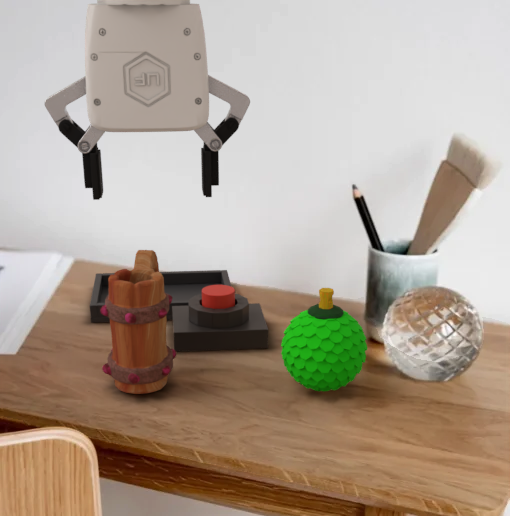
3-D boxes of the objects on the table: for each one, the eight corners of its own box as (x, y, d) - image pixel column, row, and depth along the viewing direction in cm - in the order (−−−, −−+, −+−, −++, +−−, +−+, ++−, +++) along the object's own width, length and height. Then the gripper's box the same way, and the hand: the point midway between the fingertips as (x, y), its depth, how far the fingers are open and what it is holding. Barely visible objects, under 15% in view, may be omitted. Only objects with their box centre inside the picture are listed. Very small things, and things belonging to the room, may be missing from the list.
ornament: (351, 413, 77) (357, 310, 73) (268, 398, 79) (269, 298, 75) (373, 378, 84) (380, 282, 79) (295, 365, 86) (298, 271, 82)
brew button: (202, 311, 90) (202, 296, 89) (201, 299, 93) (200, 284, 92) (236, 310, 90) (236, 294, 90) (233, 298, 94) (233, 283, 93)
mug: (168, 405, 78) (163, 282, 73) (98, 402, 78) (89, 279, 73) (186, 354, 88) (183, 244, 84) (125, 352, 89) (118, 242, 84)
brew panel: (174, 351, 89) (173, 316, 87) (172, 323, 96) (171, 290, 95) (268, 348, 90) (268, 313, 88) (259, 321, 97) (259, 288, 96)
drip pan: (90, 322, 96) (89, 305, 96) (96, 289, 107) (95, 273, 106) (235, 317, 98) (235, 301, 97) (227, 285, 109) (227, 269, 108)
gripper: (27, -15, 64) (49, 207, 71) (254, -15, 66) (253, 203, 72) (39, -16, 71) (58, 187, 78) (245, -15, 72) (245, 184, 79)
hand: (153, 194), depth 75 cm, fingers open, 9 cm apart
